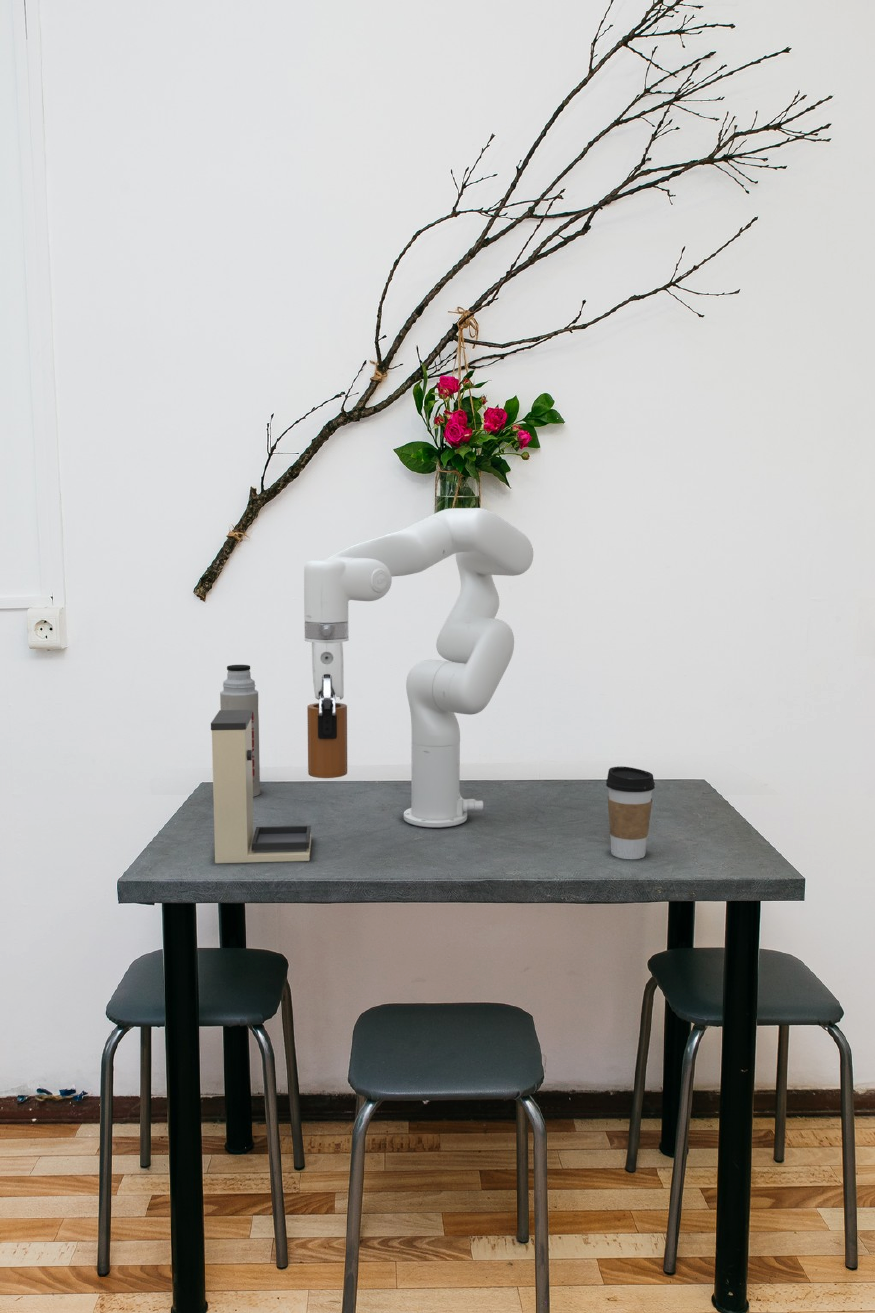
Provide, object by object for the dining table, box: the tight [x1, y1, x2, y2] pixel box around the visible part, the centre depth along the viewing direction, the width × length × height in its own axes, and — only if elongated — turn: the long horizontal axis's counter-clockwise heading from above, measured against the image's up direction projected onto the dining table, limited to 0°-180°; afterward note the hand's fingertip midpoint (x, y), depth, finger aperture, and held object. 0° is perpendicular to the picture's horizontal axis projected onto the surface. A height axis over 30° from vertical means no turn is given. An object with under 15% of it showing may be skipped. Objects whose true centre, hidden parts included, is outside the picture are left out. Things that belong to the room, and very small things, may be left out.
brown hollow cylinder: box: [306, 702, 348, 779], centre depth 172 cm, size 7×7×12 cm
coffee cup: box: [605, 765, 656, 860], centre depth 174 cm, size 8×8×15 cm
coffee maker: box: [210, 709, 312, 864], centre depth 174 cm, size 16×12×24 cm
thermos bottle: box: [219, 664, 261, 798], centre depth 212 cm, size 8×8×28 cm
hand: (327, 733), depth 172 cm, fingers closed on brown hollow cylinder, 6 cm apart
